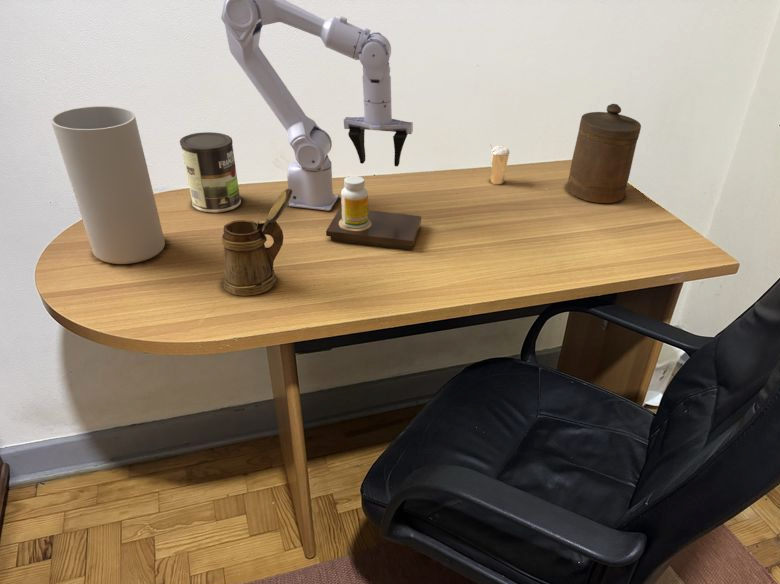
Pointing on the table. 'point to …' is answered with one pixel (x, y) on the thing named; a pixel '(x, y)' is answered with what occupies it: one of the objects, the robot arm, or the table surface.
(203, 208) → the coffee can
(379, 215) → the stand
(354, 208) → the supplement bottle
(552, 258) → the table surface
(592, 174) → the wooden container
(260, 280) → the wooden mug
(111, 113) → the cylinder vase
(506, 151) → the milkshake
